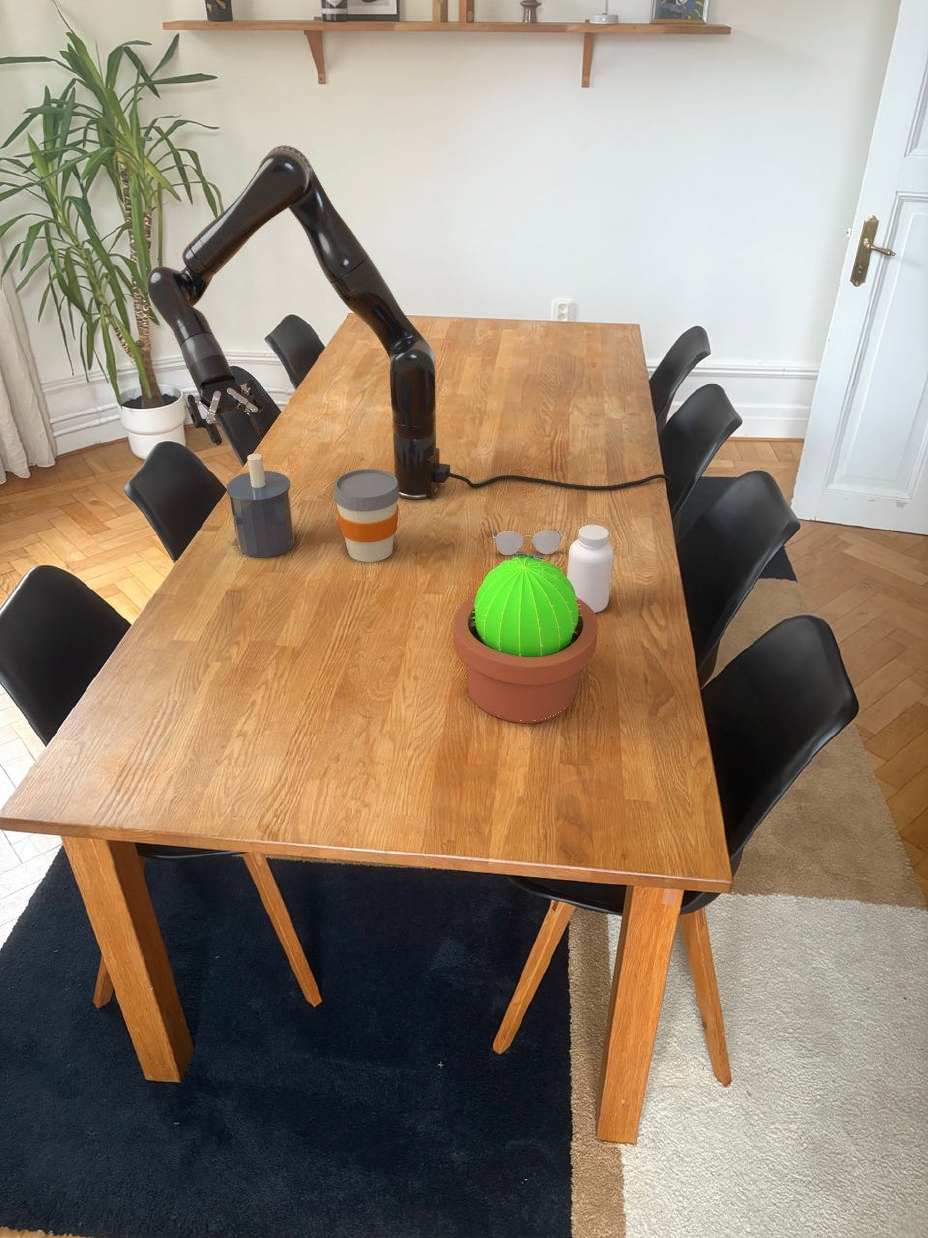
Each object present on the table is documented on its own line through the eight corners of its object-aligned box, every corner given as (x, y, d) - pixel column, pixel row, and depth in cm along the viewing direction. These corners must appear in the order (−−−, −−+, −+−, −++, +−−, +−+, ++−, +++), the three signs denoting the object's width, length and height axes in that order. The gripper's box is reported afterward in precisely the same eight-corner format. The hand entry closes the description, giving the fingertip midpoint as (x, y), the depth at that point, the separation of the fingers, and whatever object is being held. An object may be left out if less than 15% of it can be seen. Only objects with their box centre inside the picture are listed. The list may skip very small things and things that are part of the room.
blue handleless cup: (303, 534, 195) (297, 479, 187) (278, 561, 186) (271, 504, 179) (254, 525, 197) (246, 471, 190) (228, 552, 189) (218, 496, 181)
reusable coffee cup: (412, 542, 192) (410, 475, 183) (382, 572, 183) (378, 503, 174) (358, 529, 196) (354, 463, 188) (326, 558, 187) (320, 490, 178)
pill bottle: (612, 595, 177) (620, 524, 168) (603, 618, 171) (611, 546, 162) (570, 587, 179) (576, 517, 170) (560, 610, 173) (565, 538, 164)
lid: (301, 481, 188) (297, 447, 184) (273, 509, 178) (268, 474, 174) (246, 472, 191) (241, 439, 187) (215, 499, 181) (210, 465, 177)
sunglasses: (492, 555, 188) (493, 531, 186) (489, 540, 196) (490, 517, 193) (562, 554, 189) (563, 530, 187) (556, 538, 196) (557, 515, 194)
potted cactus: (550, 753, 142) (561, 617, 127) (428, 702, 151) (425, 570, 137) (612, 676, 157) (628, 546, 143) (497, 634, 166) (501, 508, 152)
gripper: (175, 361, 177) (209, 439, 177) (244, 346, 184) (278, 421, 183) (169, 380, 184) (202, 455, 183) (236, 364, 191) (269, 437, 190)
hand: (240, 438), depth 183 cm, fingers open, 8 cm apart
